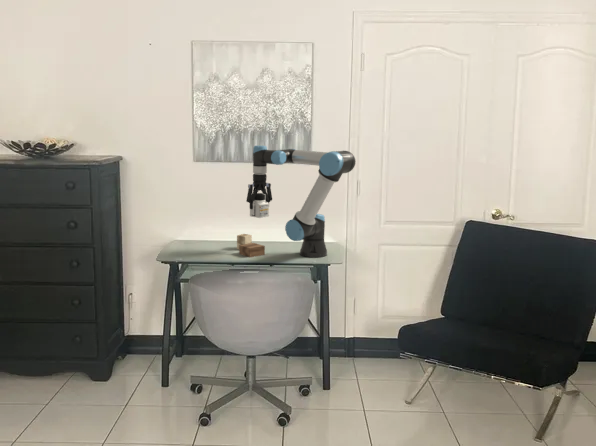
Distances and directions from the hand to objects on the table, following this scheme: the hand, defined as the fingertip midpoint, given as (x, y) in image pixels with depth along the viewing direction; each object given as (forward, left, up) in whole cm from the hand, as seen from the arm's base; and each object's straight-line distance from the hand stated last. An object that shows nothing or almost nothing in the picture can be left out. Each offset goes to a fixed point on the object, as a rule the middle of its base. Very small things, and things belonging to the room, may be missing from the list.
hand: (259, 213), depth 356 cm
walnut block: (-3, +7, -22) cm, 23 cm away
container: (0, 0, -2) cm, 2 cm away
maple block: (+11, +2, -22) cm, 24 cm away
